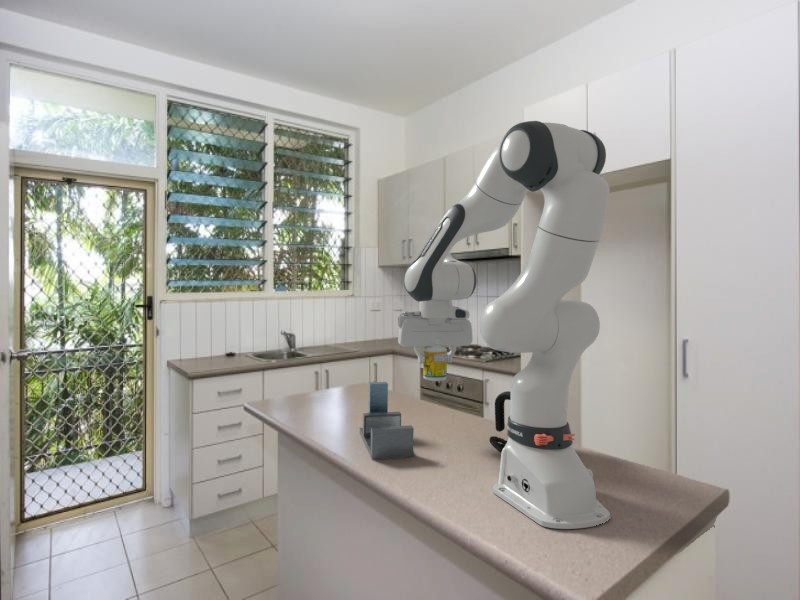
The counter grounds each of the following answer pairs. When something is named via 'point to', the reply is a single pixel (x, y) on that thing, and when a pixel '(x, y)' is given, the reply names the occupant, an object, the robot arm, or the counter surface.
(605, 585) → the counter surface
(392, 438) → the vise base
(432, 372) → the supplement bottle
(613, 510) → the counter surface
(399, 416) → the sliding jaw
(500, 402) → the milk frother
